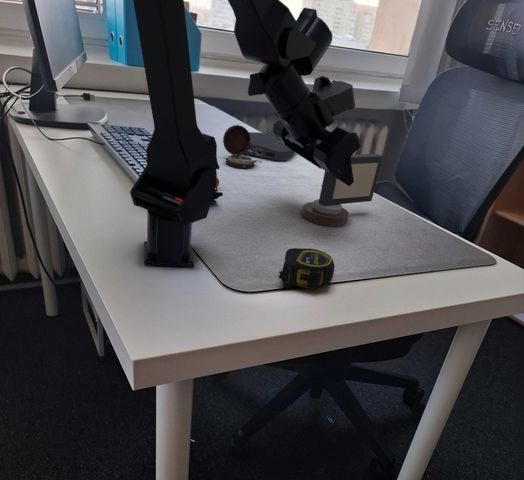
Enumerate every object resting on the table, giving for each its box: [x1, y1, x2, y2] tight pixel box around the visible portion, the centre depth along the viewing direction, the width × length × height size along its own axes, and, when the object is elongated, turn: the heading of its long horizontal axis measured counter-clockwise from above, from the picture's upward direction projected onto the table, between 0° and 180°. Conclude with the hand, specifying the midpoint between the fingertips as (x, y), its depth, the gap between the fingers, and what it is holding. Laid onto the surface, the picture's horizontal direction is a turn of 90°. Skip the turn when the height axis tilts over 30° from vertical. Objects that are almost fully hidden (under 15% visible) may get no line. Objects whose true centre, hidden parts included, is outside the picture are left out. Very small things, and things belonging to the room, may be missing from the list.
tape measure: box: [278, 247, 336, 290], centre depth 67 cm, size 7×7×4 cm
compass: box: [222, 124, 263, 169], centre depth 110 cm, size 8×8×7 cm
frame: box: [312, 153, 384, 215], centre depth 89 cm, size 12×5×9 cm, turn 124°
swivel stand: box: [302, 201, 350, 228], centre depth 90 cm, size 8×8×2 cm
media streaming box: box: [244, 131, 296, 161], centre depth 123 cm, size 15×15×3 cm
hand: (336, 175), depth 86 cm, fingers open, 9 cm apart
